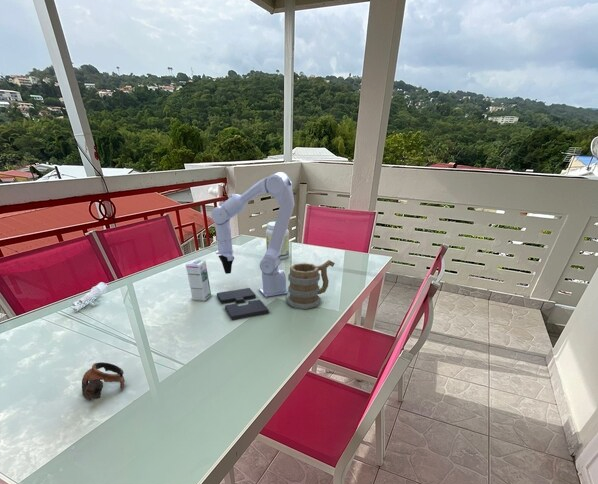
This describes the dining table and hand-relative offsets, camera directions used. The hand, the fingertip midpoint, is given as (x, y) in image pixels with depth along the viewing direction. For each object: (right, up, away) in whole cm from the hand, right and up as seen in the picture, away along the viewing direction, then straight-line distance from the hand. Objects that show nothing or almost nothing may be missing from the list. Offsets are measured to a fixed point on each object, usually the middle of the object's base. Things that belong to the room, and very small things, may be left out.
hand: (228, 273), depth 138 cm
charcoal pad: (+10, -18, -14) cm, 25 cm away
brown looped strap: (-21, -46, -53) cm, 73 cm away
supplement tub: (+18, +21, +42) cm, 50 cm away
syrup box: (-10, -11, -4) cm, 16 cm away
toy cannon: (-50, -15, -11) cm, 54 cm away
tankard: (+35, -13, -5) cm, 38 cm away
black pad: (+5, -12, -4) cm, 13 cm away
